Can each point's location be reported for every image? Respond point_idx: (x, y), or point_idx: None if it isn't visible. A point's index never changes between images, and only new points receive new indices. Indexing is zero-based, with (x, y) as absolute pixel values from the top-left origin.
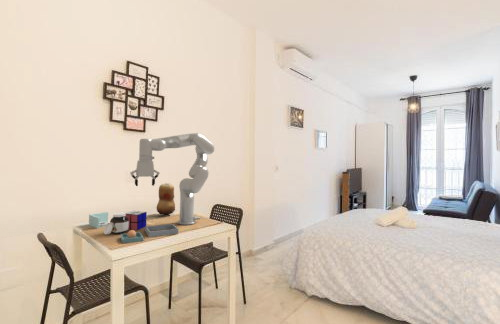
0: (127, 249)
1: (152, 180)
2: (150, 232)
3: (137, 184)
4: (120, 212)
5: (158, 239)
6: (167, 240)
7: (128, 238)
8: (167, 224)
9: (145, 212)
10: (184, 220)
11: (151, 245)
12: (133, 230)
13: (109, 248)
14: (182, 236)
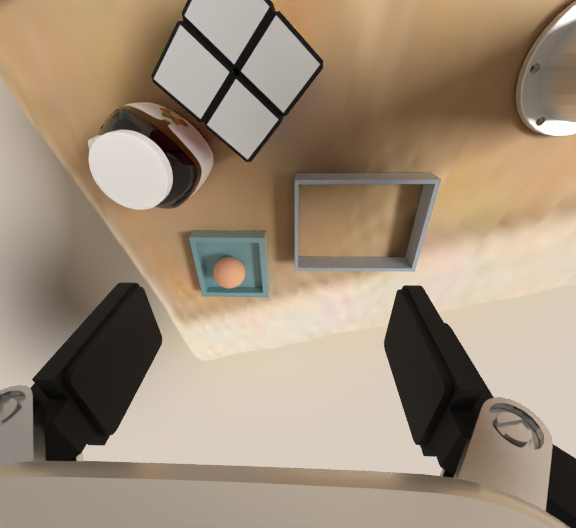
0: (223, 333)
1: (418, 401)
2: (299, 269)
3: (149, 359)
4: (125, 139)
5: (318, 292)
6: (342, 309)
7: (220, 293)
8: (409, 183)
9: (311, 79)
10: (556, 113)
11: (286, 329)
12: (232, 282)
13: (175, 312)
14: None
